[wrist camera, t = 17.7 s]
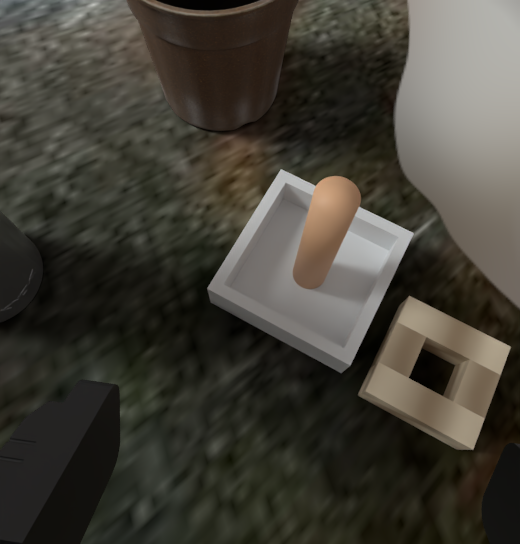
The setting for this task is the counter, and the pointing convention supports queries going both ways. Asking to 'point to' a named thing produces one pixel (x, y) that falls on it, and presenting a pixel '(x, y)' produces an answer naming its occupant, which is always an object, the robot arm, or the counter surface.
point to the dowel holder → (463, 382)
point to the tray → (295, 299)
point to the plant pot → (216, 56)
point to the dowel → (325, 229)
